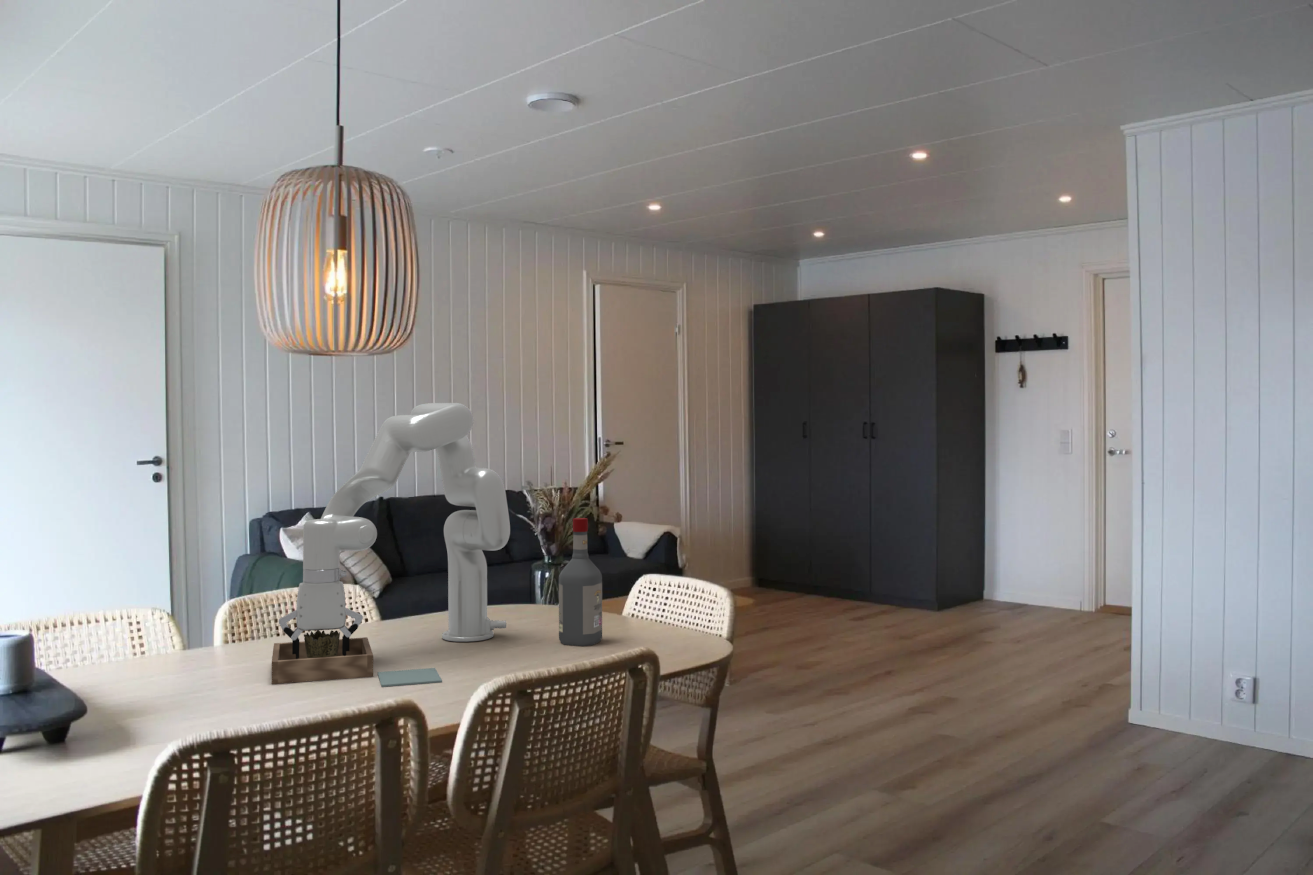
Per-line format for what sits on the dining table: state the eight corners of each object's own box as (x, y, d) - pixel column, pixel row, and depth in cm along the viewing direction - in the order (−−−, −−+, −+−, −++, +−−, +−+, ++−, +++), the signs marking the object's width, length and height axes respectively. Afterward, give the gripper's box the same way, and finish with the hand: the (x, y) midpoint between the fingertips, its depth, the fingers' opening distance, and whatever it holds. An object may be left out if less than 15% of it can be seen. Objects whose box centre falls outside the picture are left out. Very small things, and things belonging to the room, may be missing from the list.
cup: (345, 666, 231) (345, 629, 231) (332, 674, 223) (331, 636, 223) (312, 665, 231) (312, 629, 231) (298, 673, 224) (297, 635, 224)
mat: (435, 669, 227) (435, 667, 227) (442, 682, 216) (442, 680, 216) (377, 673, 223) (377, 671, 223) (381, 686, 212) (381, 684, 212)
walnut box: (367, 656, 240) (367, 637, 240) (373, 676, 221) (373, 654, 221) (274, 663, 234) (273, 643, 234) (271, 684, 215) (271, 661, 215)
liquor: (605, 639, 259) (604, 517, 259) (590, 647, 250) (590, 520, 250) (571, 637, 262) (570, 516, 262) (555, 644, 253) (555, 519, 253)
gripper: (362, 573, 234) (361, 650, 233) (279, 576, 228) (278, 655, 228) (364, 577, 226) (363, 657, 226) (278, 580, 221) (278, 662, 221)
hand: (321, 656), depth 227 cm, fingers open, 9 cm apart
